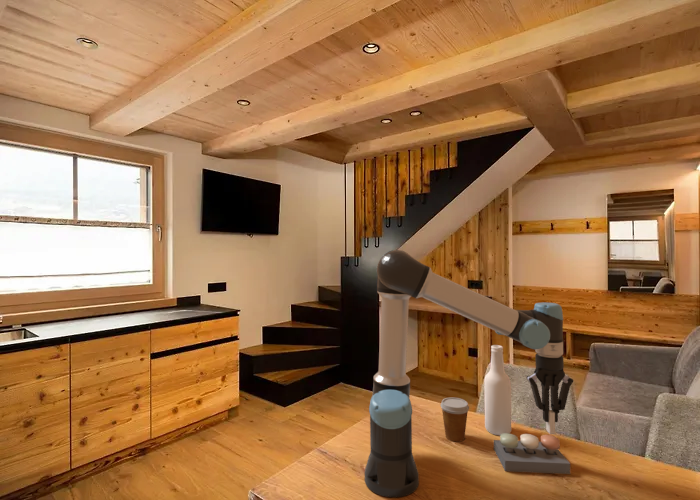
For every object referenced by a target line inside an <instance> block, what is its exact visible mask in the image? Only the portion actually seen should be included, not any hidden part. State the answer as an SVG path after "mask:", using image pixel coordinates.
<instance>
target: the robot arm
mask: <svg viewBox="0 0 700 500" xmlns="http://www.w3.org/2000/svg"><path fill="white" fill-rule="evenodd" d="M376 270H377V271H376V273H377V285H376V286H377V287H376V289H377V290H376V291H377V294H378V295H379V296H380V297H381V305H380V306H381V307H380V330H379V333H380V334H379V352H378V371H377V372H376V373H375V374H374V375H373V379H372V380H373V381H372V382H373V383H372V384H373V387H372V395H371V397H370V402H369V406H368V408H369V410H368V411H369V412H368V413H369V415H370V416H369V425H370V426H369V430H370V437H369V438H370V453H369V455H368V458H367V463H366V465H365V468H364V482H365V485H366V487H367V489H368V490H370V491H371V492H373V494H377V495H379V496H381V497H385V498H401V497H405V496H409V495H411V494H412V493H414V492H415V491H416V490H417V489H418V487H419V484H420V478H419V475H420V474H419V471H418V467H417V465H416V461H415V459H414V456H413V435H412V434H413V433H412V430H413V429H412V428H413V426H412V425H413V423H412V420H413V419H412V418H413V417H412V415H413V408H412V401H411V399H410V396H411V393H410V391H411V378H410V377H409V376H408V375H407V374H406V372H407V352H408V350H407V348H408V329H409V326H408V325H409V324H408V323H409V307H410V305H409V303H410V298H411V297H412V298H414V299H419V298H420V299H421V298H423V299H425V300H426V301H429V302H432V303H434V304H437V305H438V306H440V307H442V308H445V309H447V310H448V311H451V312H454V313H456V314H458V315H460V316H462V317H464V318H467V319H468V320H471V321H473V322H474V323H478V324H480V325H482V326H485V327H486V328H489V329H490V330H492V331H494V332H495V333H496V334H497V335H501V336H505V337H507V338H510V339H512V340H514V341H517V342H519V343H520V344H522V346H524V347H527V348H529V349H532V350H535V351H534V352H535V356H534V357H535V369H534V371H533V372H534V373H533V374H531V375H527V376H526V380H527V381H528V383H529V384H530V387H531V388H530V389H531V392H532V396H533V399H534V403H535V405H536V407H537V408H538V409H539V410H541V411H542V419H543V422H545V430H546V432H547V433H548V435H556V423H558V422H559V413H560V411H564V410H565V408H566V405H567V401H568V397H569V396H568V395H569V393H570V388H571V385H573V382H574V379H573V378H571V377H570V376H569V375H567V374H566V373H565V370H564V365H565V364H564V363H565V362H564V357H563V355H564V337H563V334H564V333H563V332H564V331H563V330H564V316H563V309H562V306H561V305H560V304H559V303H555V302H545V301H544V302H543V301H542V302H536V303H535V304H534V308H533V309H514V308H512V307H509V306H507V305H505V304H503V303H501V302H499V301H496V300H494V299H492V298H489V297H488V296H486V295H483V294H481V293H479V292H476V291H474V290H472V289H470V288H468V287H465V286H463V285H462V284H459V283H456V282H455V281H453V280H450V279H448V278H446V277H444V276H441V275H440V274H437V273H435V272H433V270H432V268H431V267H430V266H428V265H426V264H424V263H422V262H420V261H419V260H417V259H416V258H414V257H413V256H411V255H410V254H409V253H407V252H406V251H404V250H400V249H395V250H394V249H392V250H389V251H387V252H385V253H384V254H383V255H381V257H380V259H379V261H378V263H377V268H376ZM537 380H538V381H539V383H540V387H541V395H540V390H539V387H538V384H537ZM561 382H562V383H561ZM560 384H561V386H560ZM559 389H560V390H559Z"/></svg>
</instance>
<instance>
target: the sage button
mask: <svg viewBox="0 0 700 500" xmlns="http://www.w3.org/2000/svg"><path fill="white" fill-rule="evenodd" d="M499 440H500V443H501V444H502V445H503V446H505V452H506V453H513V448H516V447H518V441H519V438H518V436H517V435H515V434H512V433H503V434H501V435H500V436H499Z"/></svg>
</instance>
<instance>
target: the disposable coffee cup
mask: <svg viewBox="0 0 700 500" xmlns="http://www.w3.org/2000/svg"><path fill="white" fill-rule="evenodd" d="M440 407H441V411H442V412H441V413H442V418H443V427H444V434H445V438H446V439H447V440H448V441H451V442H463V441H464V440H465V436H466V428H467V420H468V412H469V410H470V406H469V403H468V401H466V400H465V399H463V398H460V397H446V398H443V399H442V400H441V403H440Z"/></svg>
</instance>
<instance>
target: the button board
mask: <svg viewBox="0 0 700 500" xmlns="http://www.w3.org/2000/svg"><path fill="white" fill-rule="evenodd" d="M493 450H494V452H495V455H496V456H497V459H498V460H499V462H500V464H501V466H502V467H503V468H502V469H504V471H505V472H515V473H520V472H521V473H535V474H536V473H540V474H541V473H542V474H559V475H571V462H570V461H569V460H568V459H567V458H566V457H565V456H564V454H563V453H562V452H561V451H560V450H559V449H557V450H554V455H550V454H546V448H545V447H543V446H542V445H541V441H539V447H538V448H536V449H534V454H526V447H524V446H522V445H521V440H518V447H516V448H513V453H506V452H505V446H503V445H502V444H501V443H500V439H493Z"/></svg>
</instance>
